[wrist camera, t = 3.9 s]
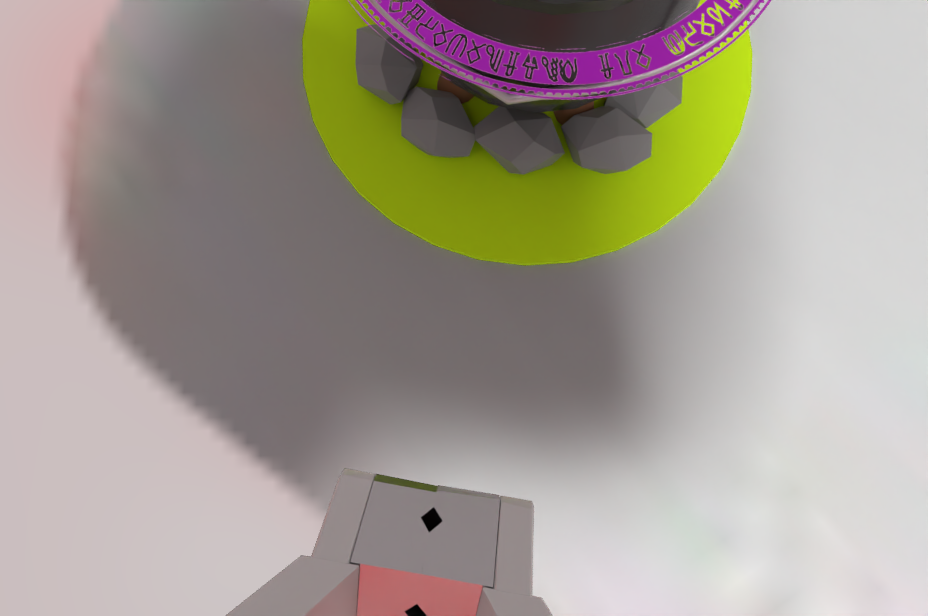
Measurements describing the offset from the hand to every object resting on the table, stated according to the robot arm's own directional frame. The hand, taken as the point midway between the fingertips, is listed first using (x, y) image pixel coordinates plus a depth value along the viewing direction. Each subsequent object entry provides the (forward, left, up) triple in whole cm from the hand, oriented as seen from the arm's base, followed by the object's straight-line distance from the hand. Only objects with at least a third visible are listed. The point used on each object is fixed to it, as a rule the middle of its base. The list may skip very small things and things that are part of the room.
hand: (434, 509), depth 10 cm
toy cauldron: (0, -14, -9) cm, 17 cm away
